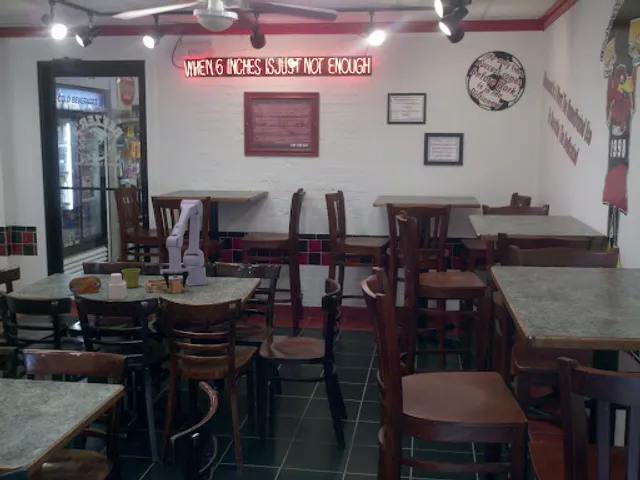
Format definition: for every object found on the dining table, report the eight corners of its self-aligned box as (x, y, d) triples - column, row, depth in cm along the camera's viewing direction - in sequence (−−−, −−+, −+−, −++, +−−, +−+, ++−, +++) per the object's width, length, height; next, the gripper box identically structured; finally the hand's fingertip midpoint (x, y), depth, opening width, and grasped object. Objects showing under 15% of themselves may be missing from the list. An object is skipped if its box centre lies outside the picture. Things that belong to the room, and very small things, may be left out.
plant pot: (136, 288, 357) (135, 271, 355) (119, 288, 358) (118, 271, 357) (144, 285, 366) (143, 268, 365) (127, 284, 368) (126, 268, 366)
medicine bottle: (111, 296, 339) (110, 271, 337) (126, 296, 340) (125, 271, 338) (108, 299, 332) (107, 274, 330) (124, 299, 333) (123, 274, 331)
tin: (70, 295, 341) (69, 278, 340) (68, 294, 344) (67, 277, 343) (101, 292, 349) (100, 275, 348) (100, 291, 352) (99, 274, 351)
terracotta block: (179, 290, 351) (179, 279, 350) (181, 292, 347) (180, 280, 346) (171, 291, 349) (171, 279, 349) (172, 293, 346) (172, 281, 345)
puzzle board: (181, 285, 364) (181, 277, 363) (185, 290, 353) (185, 281, 352) (145, 288, 358) (145, 280, 357) (148, 292, 347) (148, 284, 346)
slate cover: (182, 280, 362) (181, 273, 361) (184, 283, 354) (184, 276, 354) (166, 281, 359) (166, 274, 359) (168, 284, 352) (168, 277, 351)
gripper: (161, 262, 340) (162, 290, 342) (191, 260, 345) (192, 287, 347) (159, 260, 346) (160, 287, 348) (188, 258, 352) (189, 285, 353)
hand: (176, 287), depth 348 cm, fingers open, 7 cm apart
